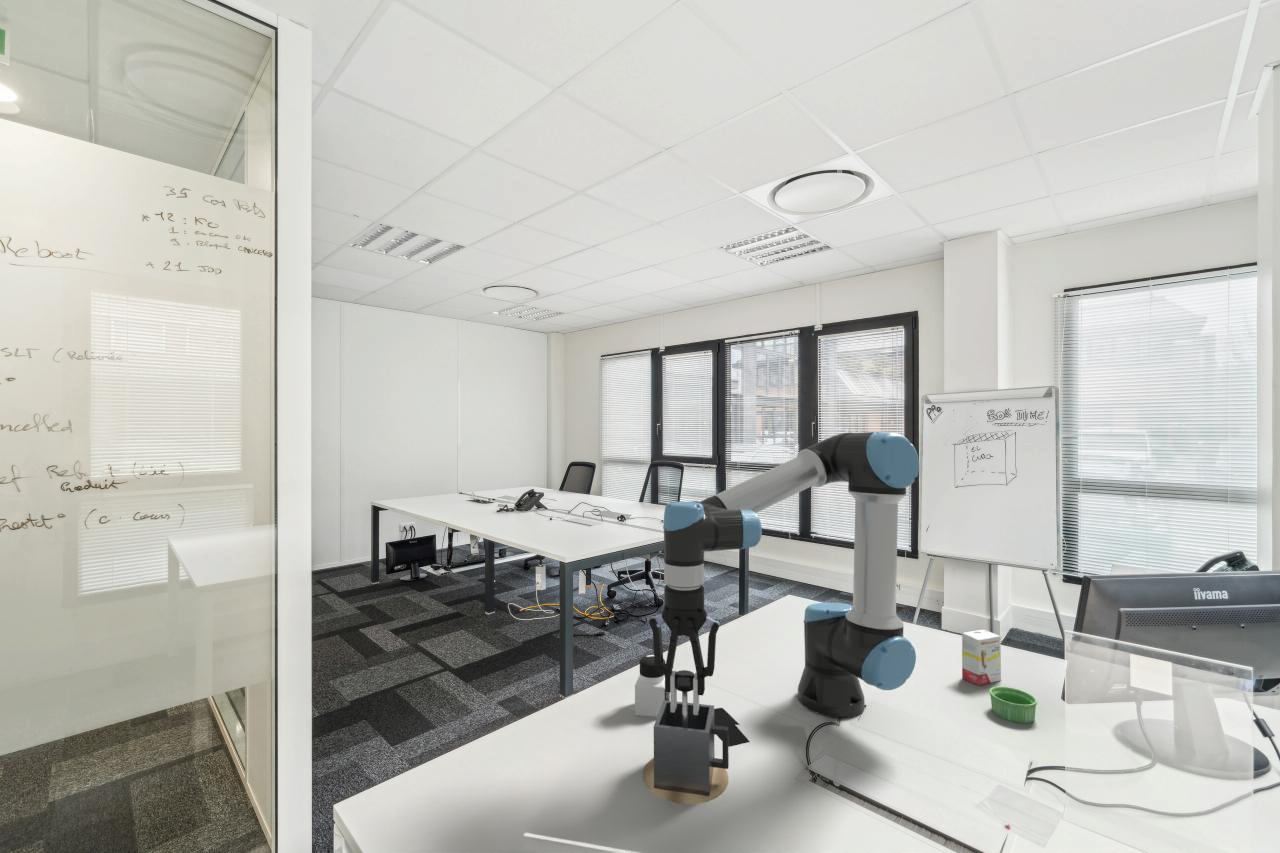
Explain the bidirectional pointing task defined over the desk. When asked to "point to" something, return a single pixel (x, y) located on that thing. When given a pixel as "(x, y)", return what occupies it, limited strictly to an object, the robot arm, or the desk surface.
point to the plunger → (684, 691)
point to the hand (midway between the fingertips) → (684, 709)
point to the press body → (687, 749)
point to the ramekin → (1013, 704)
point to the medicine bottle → (650, 688)
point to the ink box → (981, 657)
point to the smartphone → (729, 727)
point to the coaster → (716, 790)
